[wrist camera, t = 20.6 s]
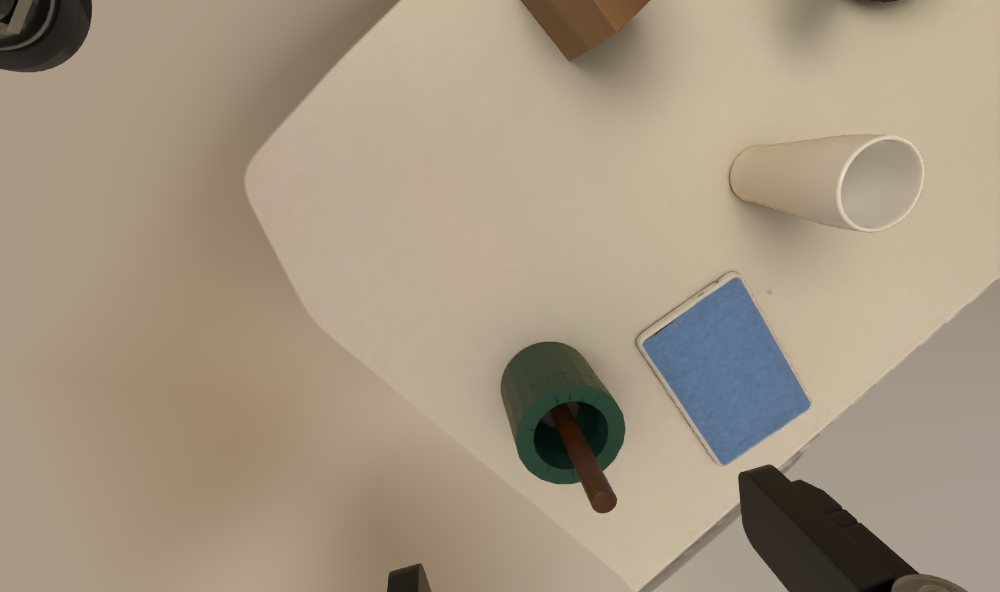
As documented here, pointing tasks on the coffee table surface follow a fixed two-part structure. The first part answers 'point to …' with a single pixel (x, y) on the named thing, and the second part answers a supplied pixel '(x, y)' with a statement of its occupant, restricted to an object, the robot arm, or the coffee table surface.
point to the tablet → (725, 369)
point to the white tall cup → (834, 179)
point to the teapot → (884, 0)
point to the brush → (582, 456)
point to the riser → (582, 21)
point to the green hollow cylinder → (542, 386)
